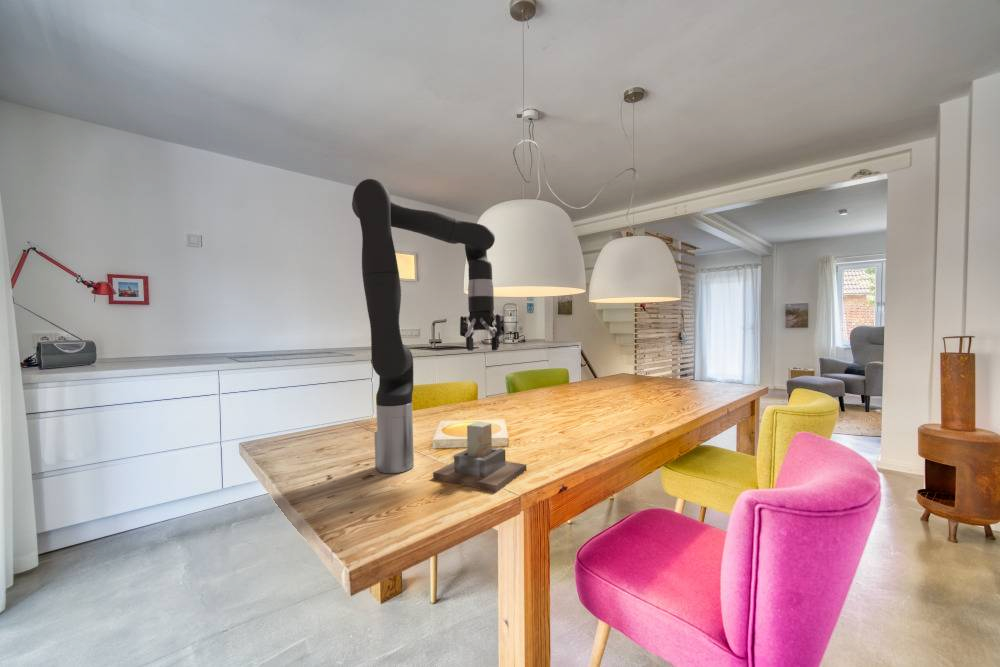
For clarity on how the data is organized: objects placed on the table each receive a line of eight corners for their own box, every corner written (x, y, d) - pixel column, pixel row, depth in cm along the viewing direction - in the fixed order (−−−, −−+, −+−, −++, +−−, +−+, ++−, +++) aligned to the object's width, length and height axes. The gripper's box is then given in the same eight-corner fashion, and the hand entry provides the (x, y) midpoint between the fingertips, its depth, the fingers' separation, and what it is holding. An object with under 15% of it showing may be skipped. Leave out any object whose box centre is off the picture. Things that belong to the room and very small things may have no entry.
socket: (433, 478, 95) (432, 456, 95) (468, 460, 108) (467, 440, 108) (496, 492, 86) (495, 467, 86) (526, 470, 99) (525, 448, 99)
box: (481, 473, 94) (480, 427, 94) (467, 470, 96) (465, 425, 96) (493, 466, 98) (491, 422, 98) (478, 463, 101) (477, 421, 101)
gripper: (508, 295, 115) (509, 349, 115) (468, 298, 122) (469, 349, 122) (494, 293, 108) (496, 351, 109) (453, 296, 116) (455, 351, 116)
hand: (482, 350), depth 115 cm, fingers open, 8 cm apart
